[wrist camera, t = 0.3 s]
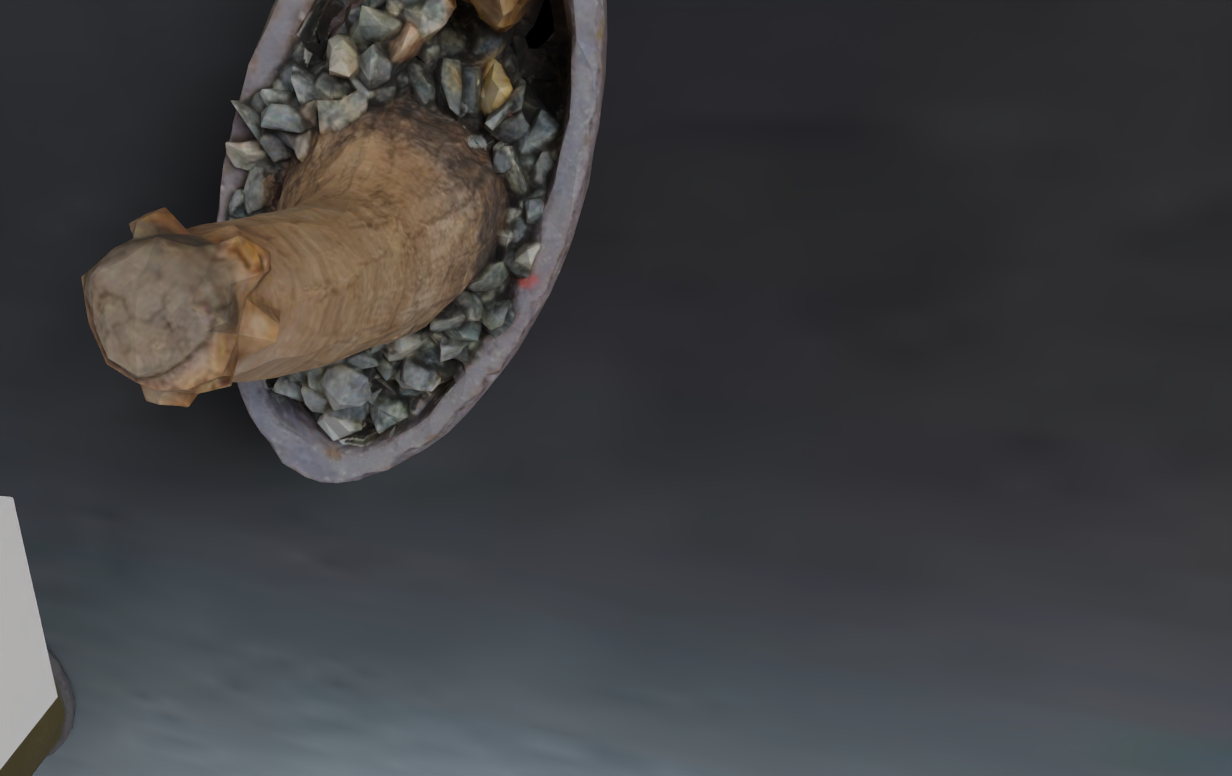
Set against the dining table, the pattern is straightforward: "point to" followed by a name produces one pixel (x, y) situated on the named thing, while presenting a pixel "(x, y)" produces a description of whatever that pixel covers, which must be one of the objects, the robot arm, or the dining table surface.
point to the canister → (45, 729)
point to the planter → (369, 225)
